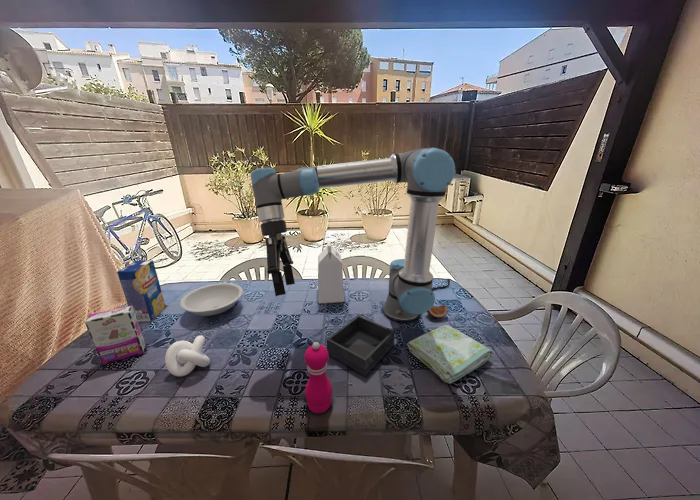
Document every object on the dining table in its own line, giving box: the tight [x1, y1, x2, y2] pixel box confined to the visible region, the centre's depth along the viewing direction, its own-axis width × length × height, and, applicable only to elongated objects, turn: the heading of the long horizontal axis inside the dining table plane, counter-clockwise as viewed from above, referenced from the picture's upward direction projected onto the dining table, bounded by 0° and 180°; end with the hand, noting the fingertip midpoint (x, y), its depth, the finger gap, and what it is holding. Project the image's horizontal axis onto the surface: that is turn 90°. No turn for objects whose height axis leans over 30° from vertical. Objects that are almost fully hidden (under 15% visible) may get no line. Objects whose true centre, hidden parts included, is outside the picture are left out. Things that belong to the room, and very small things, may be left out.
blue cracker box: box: [116, 259, 167, 323], centre depth 110 cm, size 7×11×22 cm, turn 7°
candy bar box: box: [84, 305, 147, 365], centre depth 88 cm, size 11×5×16 cm, turn 117°
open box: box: [326, 315, 396, 377], centre depth 92 cm, size 18×16×6 cm
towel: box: [406, 324, 493, 385], centre depth 89 cm, size 18×21×5 cm
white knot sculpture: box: [164, 334, 211, 378], centre depth 85 cm, size 11×12×9 cm
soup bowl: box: [179, 282, 244, 317], centre depth 116 cm, size 24×24×7 cm
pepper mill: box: [304, 341, 333, 414], centre depth 70 cm, size 7×7×20 cm
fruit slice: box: [426, 305, 449, 319], centre depth 110 cm, size 8×7×5 cm
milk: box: [317, 240, 345, 304], centre depth 122 cm, size 12×12×26 cm
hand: (286, 289), depth 84 cm, fingers open, 13 cm apart
